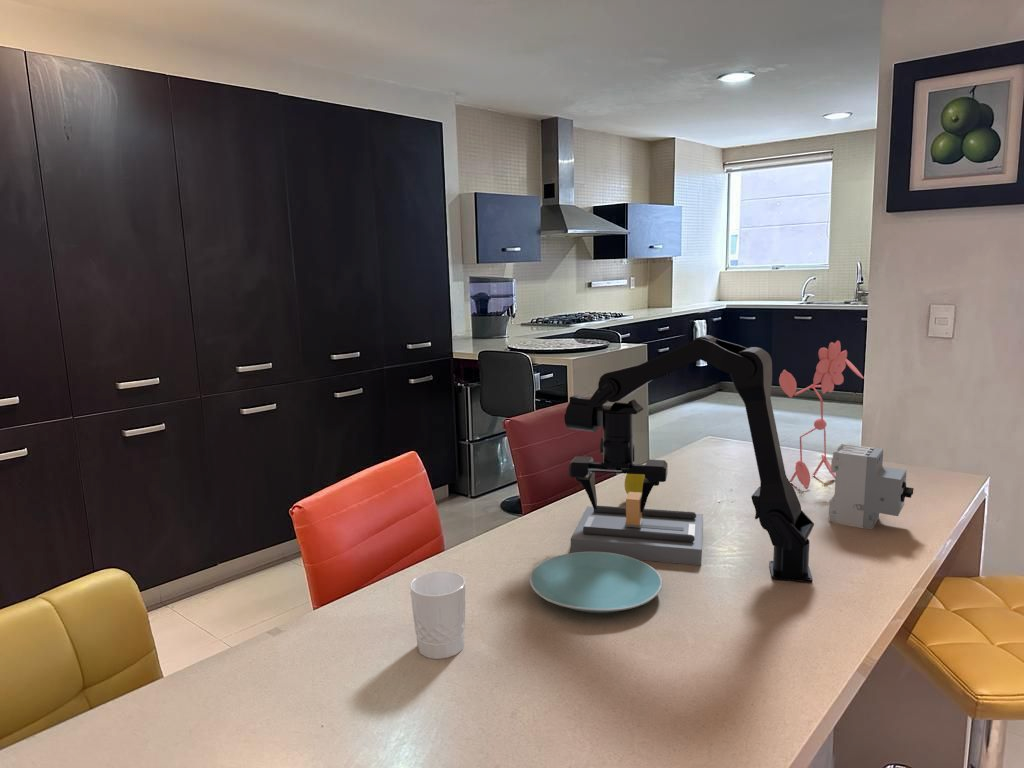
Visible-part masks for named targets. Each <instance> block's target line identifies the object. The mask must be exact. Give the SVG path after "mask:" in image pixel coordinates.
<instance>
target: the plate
mask: <svg viewBox="0 0 1024 768" xmlns="http://www.w3.org/2000/svg"><path fill="white" fill-rule="evenodd" d="M529 585H530V586H531V588H532V590H533V591H534V592H535V594H537V595H538V596H539V597H540V598H542V599H544V601H547V602H549V603H551V604H554V605H556V606H559V607H563V608H567V609H569V608H570V610H573V611H577V612H582V613H591V614H608V613H609V612H610V613H615V612H619V611H620V612H621V611H625V610H626V611H627V610H630V609H634V608H638V607H641V606H642V605H645V604H647V603H648V602H651V601H652V600H653V599H654V598H656V597H657V596H658V595H659V593H660V592H661V590H662V587H663V579H662V576H661V575H660V573H659V572H658V571H657V570H656V569H655V568H654V567H652V566H651V565H649V564H647V563H645V562H644V561H643V560H637V559H634V558H631V557H628V556H624V555H620V554H614V553H607V552H576V553H571V552H570V553H564V554H560V555H557V556H553V557H550V558H547V559H545V560H543V561H541V562H540V563H538V564H537V565H536V566H534V568H533V569H532V570H531V572H530V574H529Z"/></svg>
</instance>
